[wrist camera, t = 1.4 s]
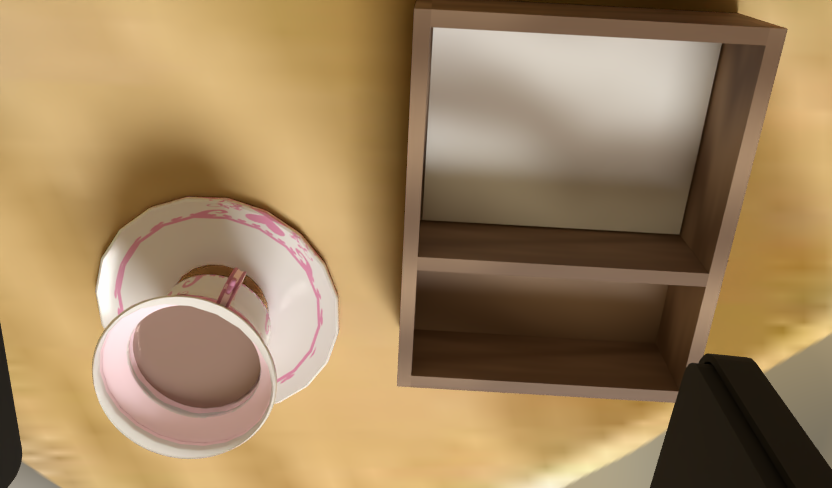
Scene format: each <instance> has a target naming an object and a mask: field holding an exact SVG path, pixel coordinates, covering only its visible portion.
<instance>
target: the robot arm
mask: <svg viewBox="0 0 832 488" xmlns="http://www.w3.org/2000/svg"><path fill="white" fill-rule="evenodd" d="M21 460H22V447H21V441H20V435H19V429H18V423H17V417H16V412H15V406H14V400H13V394H12V388H11V382H10V377H9V371H8V365H7V359H6V353H5V347H4V341H3V336H2V330H1V324H0V488H8V486H9V485H10V484H11V482H12V481H13V480H14V478H15V477H16V475H17V473H18V471H19V468H20V465H21ZM650 488H832V469H831V468H830V466H829V465H828V464H827V462H826V461H825V459H824V458H823V456H822V455H821V454H820V452H819V451H818V449H817V448H816V447H815V445H814V444H813V442H812V441H811V440H810V438H809V437H808V435H807V434H806V433H805V431H804V430H803V428H802V427H801V426H800V424H799V423H798V422H797V420H796V419H795V417H794V416H793V414H792V413H791V412H790V410H789V409H788V407H787V406H786V405H785V403H784V402H783V400H782V399H781V397H780V396H779V395H778V393H777V392H776V391H775V389H774V388H773V386H772V385H771V383H770V382H769V381H768V379H767V378H766V376H765V375H764V374H763V372H762V371H761V369H760V368H759V367H758V365H757V364H756V362H754V361H753V360H752V359H751V358H747V357H738V356H728V355H718V354H705V355H703V357H702V358H701V359H700V361H699V363H690V364H688V366H687V367H686V369H685V372H684V375H683V378H682V381H681V385H680V388H679V392H678V395H677V398H676V402H675V405H674V408H673V412H672V415H671V418H670V422H669V425H668V429H667V432H666V435H665V439H664V442H663V446H662V449H661V452H660V456H659V459H658V463H657V466H656V469H655V473H654V476H653V480H652V483H651V486H650Z"/></svg>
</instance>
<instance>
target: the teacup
mask: <svg viewBox="0 0 832 488" xmlns="http://www.w3.org/2000/svg"><path fill="white" fill-rule="evenodd" d="M206 265H224V266H227V267H230V268H233V271H232V272H231V274H230V276H229V278H228V277H224V276H220V275H207V274H205V275H197V276H193V277H189V278H187V279H185V280H183V281H181V282H180V283H178V282H179V281H180V279H181V278H182V276H184V275H185V274H187V273H188V272H190V271H191V270H193V269H194V268H198V267H202V266H206ZM246 275H247V276H248V277H250V278H251V279H252V280H253V281H254V282H255V283H256V284H257V285H258V286H259V288H260V289H261V290H262V292H263V294H264V297H265V299H266V301H267V306H268V311H267V309H266V307H265V305H264V304H263V302H262V301H261V300H260V298H259V297H258V296H257V295H256V294H255V293H254V292H253V291H252V290H251V289H249V288H248V287H247V286H245V285H244V284H242V282H243V280H244V278H245V276H246ZM177 283H178V284H177ZM96 297H97V302H98V307H99V312H100V318H101V323H102V326H103V327H104V329H105V330H104V331H103V333H102V335H101V336H100V338H99V340H98V343H97V345H96V348H95V351H94V355H93V362H92V377H93V384H94V388H95V392H96V395H97V398H98V400H99V403H100V405H101V407H102V409H103V411H104V412H105V414H106V415H107V417H108V418H109V420H110V421H111V422H112V423H113V425H114V426H115V427H116V428H117V429H118V430H119V431H120V432H121V433H122V434H124V435H125V436H126V437H127V438H129V439H130V440H131V441H133V442H134V443H136V444H138V445H139V446H141V447H143V448H145V449H147V450H149V451H152V452H154V453H157V454H160V455H164V456H168V457H174V458H182V459H198V458H206V457H212V456H216V455H219V454H222V453H225V452H227V451H230V450H232V449H234V448H236V447H238V446H240V445H241V444H243V443H244V442H246V441H247V440H248V439H250V438H251V437H252V436H253V435H254V434H255V433H256V432H257V431H258V430H259V429H260V428H261V427H262V425H263V424H264V423H265V421H266V419H267V418H268V416H269V414H270V412H271V410H272V408H273V405H274V404H276V403H280V402H281V401H283V400H285V399H286V398H288V397H290V396H292V395H293V394H295V393H297V392H298V391H300V390H302V389H304V388H305V387H307V386H308V385H309V384H310V383H311V382H312V380H313V379H314V378H315V377H316V376H317V375H318V373H319V372H320V371H321V370H322V369H323V367H324V366H325V365H326V364H327V363H328V361H329V358H330V355H331V352H332V349H333V347H334V344H335V341H336V338H337V335H338V332H339V304H338V295H337V292H336V289H335V287H334V284H333V282H332V279H331V277H330V274H329V272H328V269H327V267H326V264H325V262H324V261H323V260H322V259H321V258H320V256H319V255H318V254H317V253H316V252H315V250H314V249H313V248H312V247H311V245H310V244H309V243H308V242H307V241H306V239H305V238H304V237H303V236H302V234H301V233H299V232H298V231H296V230H295V229H293V228H292V227H290V226H289V225H287V224H286V223H284V222H283V221H281V220H280V219H278V218H277V217H275V216H274V215H273V214H271V213H270V212H268V211H266V210H263V209H260V208H257V207H254V206H251V205H248V204H245V203H242V202H239V201H236V200H232V199H229V198H214V197H184V198H181V199H177V200H174V201H170V202H167V203H163V204H160V205H156V206H153V207H150V208H149V209H147V210H146V211H144V212H143V213H142V214H140V215H139V216H138V217H136V218H135V219H133V220H132V221H131V222H129V223H128V224H126V225H125V226H124V227H122V228H121V229H120V230H119V231H118V233H117V235H116V236H115V238H114V239H113V241H112V243H111V244H110V246H109V247H108V249H107V250H106V252H105V254H104V255H103V257H102V258H101V263H100V269H99V274H98V280H97V285H96Z"/></svg>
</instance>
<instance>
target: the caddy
mask: <svg viewBox="0 0 832 488" xmlns="http://www.w3.org/2000/svg"><path fill="white" fill-rule="evenodd" d="M786 33H787V29H786V28H783V27H780V26H777V25H774V24H771V23H768V22H764V21H761V20H758V19H755V18H752V17H749V16H745V15H742V14H739V13H725V12H707V11H688V10H670V9H652V8H633V7H615V6H596V5H578V4H560V3H541V2H523V1H505V0H416V4H415V7H414V22H413V44H412V66H411V88H410V110H409V132H408V154H407V176H406V198H405V221H404V243H403V265H402V287H401V309H400V331H399V353H398V375H397V386H401V387H417V388H434V389H451V390H468V391H485V392H502V393H519V394H536V395H553V396H570V397H587V398H604V399H621V400H638V401H655V402H672V403H675V402H676V398H677V395H678V392H679V388H680V385H681V381H682V378H683V375H684V372H685V369H686V367H687V366H688V364H690V363H699V361H700V359H701V358H702V357H703V355H704V351H705V347H706V343H707V339H708V336H709V332H710V328H711V324H712V320H713V316H714V312H715V308H716V305H717V301H718V297H719V293H720V289H721V285H722V281H723V277H724V274H725V270H726V266H727V262H728V258H729V254H730V250H731V246H732V243H733V239H734V235H735V231H736V227H737V223H738V219H739V215H740V212H741V208H742V204H743V200H744V196H745V192H746V188H747V184H748V181H749V177H750V173H751V169H752V165H753V161H754V157H755V153H756V149H757V146H758V142H759V138H760V134H761V130H762V126H763V122H764V118H765V115H766V111H767V107H768V103H769V99H770V95H771V91H772V87H773V84H774V80H775V76H776V72H777V68H778V64H779V60H780V56H781V53H782V49H783V45H784V41H785V37H786Z"/></svg>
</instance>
